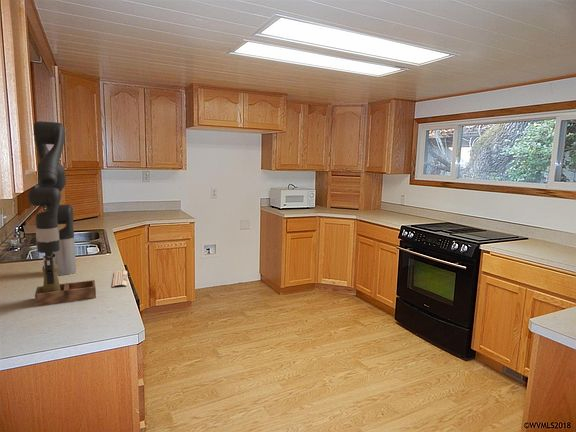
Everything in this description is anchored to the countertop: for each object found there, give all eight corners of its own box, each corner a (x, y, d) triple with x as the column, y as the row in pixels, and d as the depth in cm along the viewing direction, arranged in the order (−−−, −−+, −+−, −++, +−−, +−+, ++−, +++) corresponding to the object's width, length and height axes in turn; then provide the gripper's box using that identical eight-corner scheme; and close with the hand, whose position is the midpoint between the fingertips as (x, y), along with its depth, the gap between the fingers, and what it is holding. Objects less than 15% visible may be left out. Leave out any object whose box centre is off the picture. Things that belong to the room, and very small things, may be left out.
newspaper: (114, 274, 190) (114, 270, 190) (129, 273, 193) (129, 269, 192) (112, 289, 168) (111, 285, 168) (129, 287, 171) (129, 283, 171)
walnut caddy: (35, 306, 146) (34, 294, 146) (38, 297, 155) (37, 286, 154) (96, 297, 156) (95, 287, 155) (94, 290, 165) (94, 280, 164)
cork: (57, 287, 157) (55, 261, 155) (63, 290, 153) (61, 263, 152) (40, 291, 152) (38, 264, 151) (46, 294, 148) (44, 266, 147)
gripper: (38, 236, 154) (41, 278, 157) (34, 243, 142) (38, 288, 144) (60, 235, 158) (62, 275, 160) (58, 241, 145) (61, 285, 148)
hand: (51, 281), depth 152 cm, fingers closed on cork, 4 cm apart
